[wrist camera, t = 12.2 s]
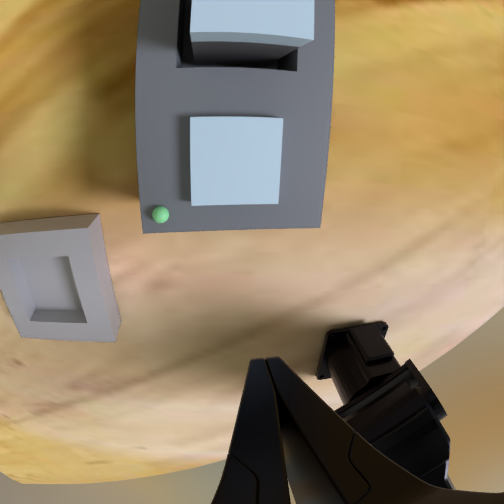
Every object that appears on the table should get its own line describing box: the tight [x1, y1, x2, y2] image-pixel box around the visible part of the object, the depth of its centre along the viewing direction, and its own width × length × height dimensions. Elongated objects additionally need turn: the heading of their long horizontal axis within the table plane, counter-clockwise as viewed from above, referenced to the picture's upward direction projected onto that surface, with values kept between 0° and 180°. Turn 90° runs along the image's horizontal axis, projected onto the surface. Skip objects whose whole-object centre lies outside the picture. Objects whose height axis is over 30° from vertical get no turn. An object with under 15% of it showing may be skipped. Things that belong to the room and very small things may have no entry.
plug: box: [190, 0, 314, 67], centre depth 10 cm, size 4×4×8 cm
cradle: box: [0, 214, 121, 342], centre depth 19 cm, size 9×9×2 cm
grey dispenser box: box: [135, 0, 335, 234], centre depth 14 cm, size 14×9×6 cm, turn 178°
